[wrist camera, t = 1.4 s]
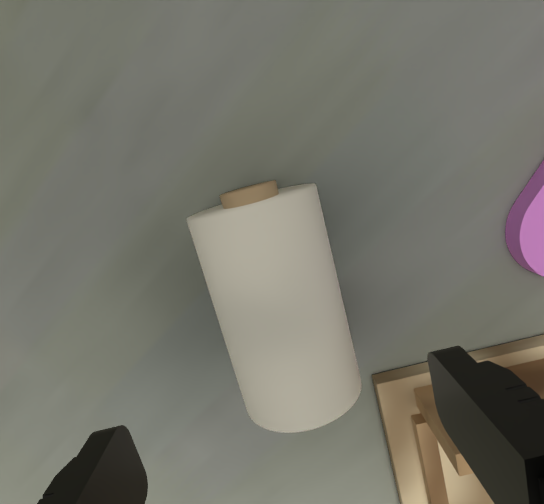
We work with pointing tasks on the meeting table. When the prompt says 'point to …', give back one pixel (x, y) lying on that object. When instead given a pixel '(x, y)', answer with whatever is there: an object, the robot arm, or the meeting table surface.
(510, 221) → the bracket
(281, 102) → the meeting table surface
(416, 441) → the cradle
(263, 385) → the roll
